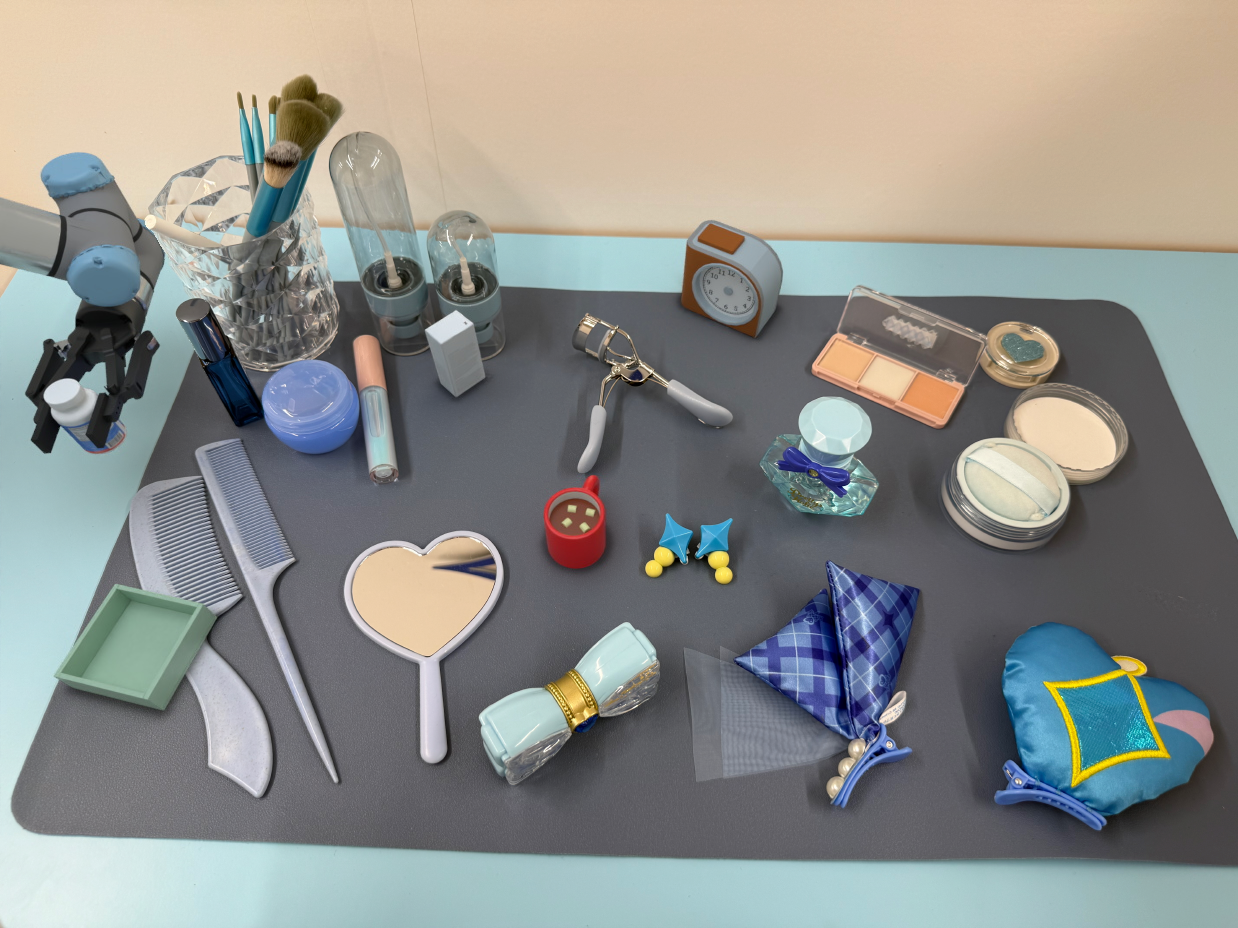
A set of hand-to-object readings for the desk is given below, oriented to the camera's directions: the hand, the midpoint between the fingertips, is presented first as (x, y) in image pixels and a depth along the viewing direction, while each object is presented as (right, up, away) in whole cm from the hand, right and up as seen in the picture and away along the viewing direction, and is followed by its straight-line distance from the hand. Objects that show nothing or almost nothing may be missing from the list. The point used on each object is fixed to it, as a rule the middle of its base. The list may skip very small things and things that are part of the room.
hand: (68, 443), depth 92 cm
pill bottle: (-1, +1, +8) cm, 8 cm away
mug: (+60, -12, +14) cm, 63 cm away
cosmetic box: (+41, +11, +30) cm, 52 cm away
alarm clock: (+84, +24, +40) cm, 96 cm away
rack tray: (+7, -26, +4) cm, 27 cm away
